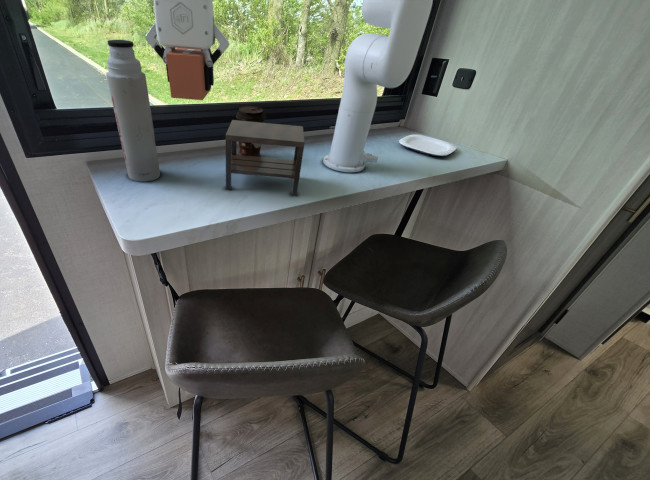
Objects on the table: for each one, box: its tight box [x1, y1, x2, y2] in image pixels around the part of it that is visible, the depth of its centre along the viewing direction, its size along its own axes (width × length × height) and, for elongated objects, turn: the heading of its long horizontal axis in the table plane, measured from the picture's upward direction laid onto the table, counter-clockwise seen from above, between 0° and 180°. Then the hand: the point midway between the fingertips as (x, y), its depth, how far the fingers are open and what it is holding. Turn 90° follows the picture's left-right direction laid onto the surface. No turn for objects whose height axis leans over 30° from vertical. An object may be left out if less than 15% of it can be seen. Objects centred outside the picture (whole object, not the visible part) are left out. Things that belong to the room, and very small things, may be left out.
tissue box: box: [166, 48, 212, 101], centre depth 64 cm, size 6×9×7 cm
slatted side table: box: [225, 119, 306, 197], centre depth 82 cm, size 18×12×13 cm, turn 87°
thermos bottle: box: [105, 39, 161, 182], centre depth 75 cm, size 8×8×28 cm
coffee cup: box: [235, 105, 267, 157], centre depth 95 cm, size 9×8×13 cm
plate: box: [398, 133, 458, 157], centre depth 116 cm, size 18×18×2 cm
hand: (191, 87), depth 65 cm, fingers closed on tissue box, 6 cm apart
